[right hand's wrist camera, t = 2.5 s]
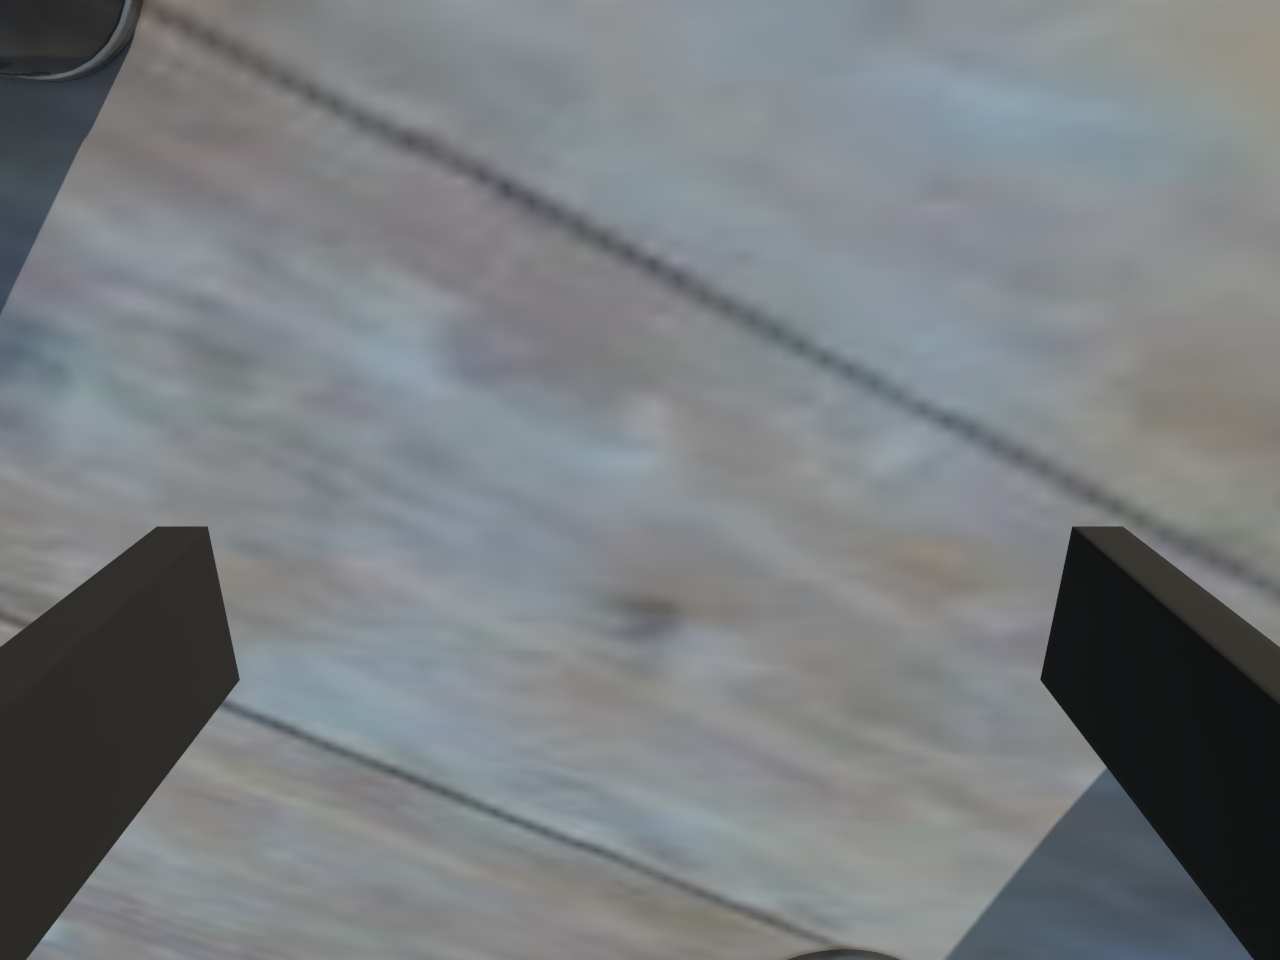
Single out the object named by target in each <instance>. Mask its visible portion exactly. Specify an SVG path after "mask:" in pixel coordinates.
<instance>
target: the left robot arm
mask: <svg viewBox="0 0 1280 960" xmlns="http://www.w3.org/2000/svg"><path fill="white" fill-rule="evenodd" d="M142 3H143V0H0V74H5V75H11V76H15V77H20V78H26V79H33V80H41V81H68V80H74V79H78V78H82V77H85V76H88V75H90V74H92V73H95V72H97V71H98V70H100V69H102V68H103V67H105V66H106V65H107V64H109V63H110V62H111V61H112V60H114V59H115V58H116V57H117V56H118V55H119V54H120V52H121V51H122V50H123V49H124V47H125V46H126V44H127V43H128V41H129V40H130V38H131V36H132V34H133V32H134V30H135V28H136V25H137V22H138V19H139V16H140V12H141V8H142ZM0 79H1V80H9V81H16V80H11V79H6V78H1V77H0ZM18 82H21V81H18Z"/></svg>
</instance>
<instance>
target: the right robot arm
mask: <svg viewBox="0 0 1280 960" xmlns="http://www.w3.org/2000/svg"><path fill="white" fill-rule="evenodd" d="M239 680H240V679H239V674H238V670H237V665H236V660H235V655H234V651H233V646H232V641H231V636H230V631H229V627H228V622H227V617H226V612H225V607H224V603H223V598H222V593H221V588H220V584H219V579H218V574H217V569H216V564H215V560H214V555H213V550H212V545H211V541H210V536H209V531H208V527H156V528H155V529H153V530H152V531H151V532H149V533H148V534H147V535H146V536H144V537H143V538H142V539H140V540H139V541H138V542H136V543H135V544H134V545H133V546H131V547H130V548H129V549H127V550H126V551H125V552H123V553H122V554H121V555H120V556H118V557H117V558H116V559H114V560H113V561H112V562H110V563H109V564H108V565H107V566H105V567H104V568H103V569H101V570H100V571H99V572H97V573H96V574H95V575H94V576H92V577H91V578H90V579H88V580H87V581H86V582H84V583H83V584H82V585H81V586H79V587H78V588H77V589H75V590H74V591H73V592H71V593H70V594H69V595H68V596H66V597H65V598H64V599H62V600H61V601H60V602H58V603H57V604H56V605H55V606H53V607H52V608H51V609H49V610H48V611H47V612H45V613H44V614H43V615H42V616H40V617H39V618H38V619H36V620H35V621H34V622H32V623H31V624H30V625H29V626H27V627H26V628H25V629H23V630H22V631H21V632H19V633H18V634H17V635H16V636H14V637H13V638H12V639H10V640H9V641H8V642H6V643H5V644H4V645H3V646H1V647H0V960H26V959H27V958H28V956H29V955H30V954H31V952H32V951H33V950H34V949H35V947H36V946H37V945H38V943H39V942H40V941H41V939H42V938H43V937H44V935H45V934H46V933H47V932H48V930H49V929H50V928H51V926H52V925H53V924H54V922H55V921H56V920H57V918H58V917H59V916H60V914H61V913H62V912H63V911H64V909H65V908H66V907H67V905H68V904H69V903H70V901H71V900H72V899H73V897H74V896H75V895H76V894H77V892H78V891H79V890H80V888H81V887H82V886H83V884H84V883H85V882H86V880H87V879H88V878H89V876H90V875H91V874H92V873H93V871H94V870H95V869H96V867H97V866H98V865H99V863H100V862H101V861H102V859H103V858H104V857H105V856H106V854H107V853H108V852H109V850H110V849H111V848H112V846H113V845H114V844H115V842H116V841H117V840H118V838H119V837H120V836H121V835H122V833H123V832H124V831H125V829H126V828H127V827H128V825H129V824H130V823H131V821H132V820H133V819H134V818H135V816H136V815H137V814H138V812H139V811H140V810H141V808H142V807H143V806H144V804H145V803H146V802H147V800H148V799H149V798H150V797H151V795H152V794H153V793H154V791H155V790H156V789H157V787H158V786H159V785H160V783H161V782H162V781H163V780H164V778H165V777H166V776H167V774H168V773H169V772H170V770H171V769H172V768H173V766H174V765H175V764H176V762H177V761H178V760H179V759H180V757H181V756H182V755H183V753H184V752H185V751H186V749H187V748H188V747H189V745H190V744H191V743H192V742H193V740H194V739H195V738H196V736H197V735H198V734H199V732H200V731H201V730H202V728H203V727H204V726H205V724H206V723H207V722H208V721H209V719H210V718H211V717H212V715H213V714H214V713H215V711H216V710H217V709H218V707H219V706H220V705H221V704H222V702H223V701H224V700H225V698H226V697H227V696H228V694H229V693H230V692H231V690H232V689H233V688H234V686H235V685H236V684H237V683H238V681H239ZM1040 680H1041V681H1042V683H1043V684H1044V685H1045V686H1046V688H1047V689H1048V690H1049V692H1050V693H1051V694H1052V696H1053V697H1054V698H1055V700H1056V701H1057V702H1058V704H1059V705H1060V706H1061V707H1062V709H1063V710H1064V711H1065V713H1066V714H1067V715H1068V717H1069V718H1070V719H1071V721H1072V722H1073V723H1074V724H1075V726H1076V727H1077V728H1078V730H1079V731H1080V732H1081V734H1082V735H1083V736H1084V738H1085V739H1086V740H1087V742H1088V743H1089V744H1090V745H1091V747H1092V748H1093V749H1094V751H1095V752H1096V753H1097V755H1098V756H1099V757H1100V759H1101V760H1102V761H1103V762H1104V764H1105V765H1106V766H1107V768H1108V769H1109V770H1110V772H1111V773H1112V774H1113V776H1114V777H1115V778H1116V780H1117V781H1118V782H1119V783H1120V785H1121V786H1122V787H1123V789H1124V790H1125V791H1126V793H1127V794H1128V795H1129V797H1130V798H1131V799H1132V800H1133V802H1134V803H1135V804H1136V806H1137V807H1138V808H1139V810H1140V811H1141V812H1142V814H1143V815H1144V816H1145V818H1146V819H1147V820H1148V821H1149V823H1150V824H1151V825H1152V827H1153V828H1154V829H1155V831H1156V832H1157V833H1158V835H1159V836H1160V837H1161V838H1162V840H1163V841H1164V842H1165V844H1166V845H1167V846H1168V848H1169V849H1170V850H1171V852H1172V853H1173V854H1174V856H1175V857H1176V858H1177V859H1178V861H1179V862H1180V863H1181V865H1182V866H1183V867H1184V869H1185V870H1186V871H1187V873H1188V874H1189V875H1190V876H1191V878H1192V879H1193V880H1194V882H1195V883H1196V884H1197V886H1198V887H1199V888H1200V890H1201V891H1202V892H1203V894H1204V895H1205V896H1206V897H1207V899H1208V900H1209V901H1210V903H1211V904H1212V905H1213V907H1214V908H1215V909H1216V911H1217V912H1218V913H1219V914H1220V916H1221V917H1222V918H1223V920H1224V921H1225V922H1226V924H1227V925H1228V926H1229V928H1230V929H1231V930H1232V932H1233V933H1234V934H1235V935H1236V937H1237V938H1238V939H1239V941H1240V942H1241V943H1242V945H1243V946H1244V947H1245V949H1246V950H1247V951H1248V952H1249V954H1250V955H1251V956H1252V958H1253V959H1254V960H1280V647H1279V646H1277V645H1276V644H1275V643H1274V642H1272V641H1271V640H1270V639H1268V638H1267V637H1266V636H1264V635H1263V634H1262V633H1261V632H1259V631H1258V630H1257V629H1255V628H1254V627H1253V626H1251V625H1250V624H1249V623H1248V622H1246V621H1245V620H1244V619H1242V618H1241V617H1240V616H1238V615H1237V614H1236V613H1235V612H1233V611H1232V610H1231V609H1229V608H1228V607H1227V606H1225V605H1224V604H1223V603H1222V602H1220V601H1219V600H1218V599H1216V598H1215V597H1214V596H1212V595H1211V594H1210V593H1209V592H1207V591H1206V590H1205V589H1203V588H1202V587H1201V586H1199V585H1198V584H1197V583H1196V582H1194V581H1193V580H1192V579H1190V578H1189V577H1188V576H1186V575H1185V574H1184V573H1183V572H1181V571H1180V570H1179V569H1177V568H1176V567H1175V566H1173V565H1172V564H1171V563H1170V562H1168V561H1167V560H1166V559H1164V558H1163V557H1162V556H1160V555H1159V554H1158V553H1157V552H1155V551H1154V550H1153V549H1151V548H1150V547H1149V546H1147V545H1146V544H1145V543H1144V542H1142V541H1141V540H1140V539H1138V538H1137V537H1136V536H1134V535H1133V534H1132V533H1131V532H1129V531H1128V530H1127V529H1125V528H1124V527H1072V531H1071V536H1070V541H1069V545H1068V550H1067V555H1066V560H1065V564H1064V569H1063V574H1062V579H1061V584H1060V588H1059V593H1058V598H1057V603H1056V607H1055V612H1054V617H1053V622H1052V627H1051V631H1050V636H1049V641H1048V646H1047V651H1046V655H1045V660H1044V665H1043V670H1042V674H1041V679H1040ZM789 960H899V959H896V958H893V957H890V956H887V955H884V954H880V953H875V952H870V951H862V950H828V951H820V952H815V953H809V954H806V955H802V956H798V957H795V958H792V959H789Z"/></svg>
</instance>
